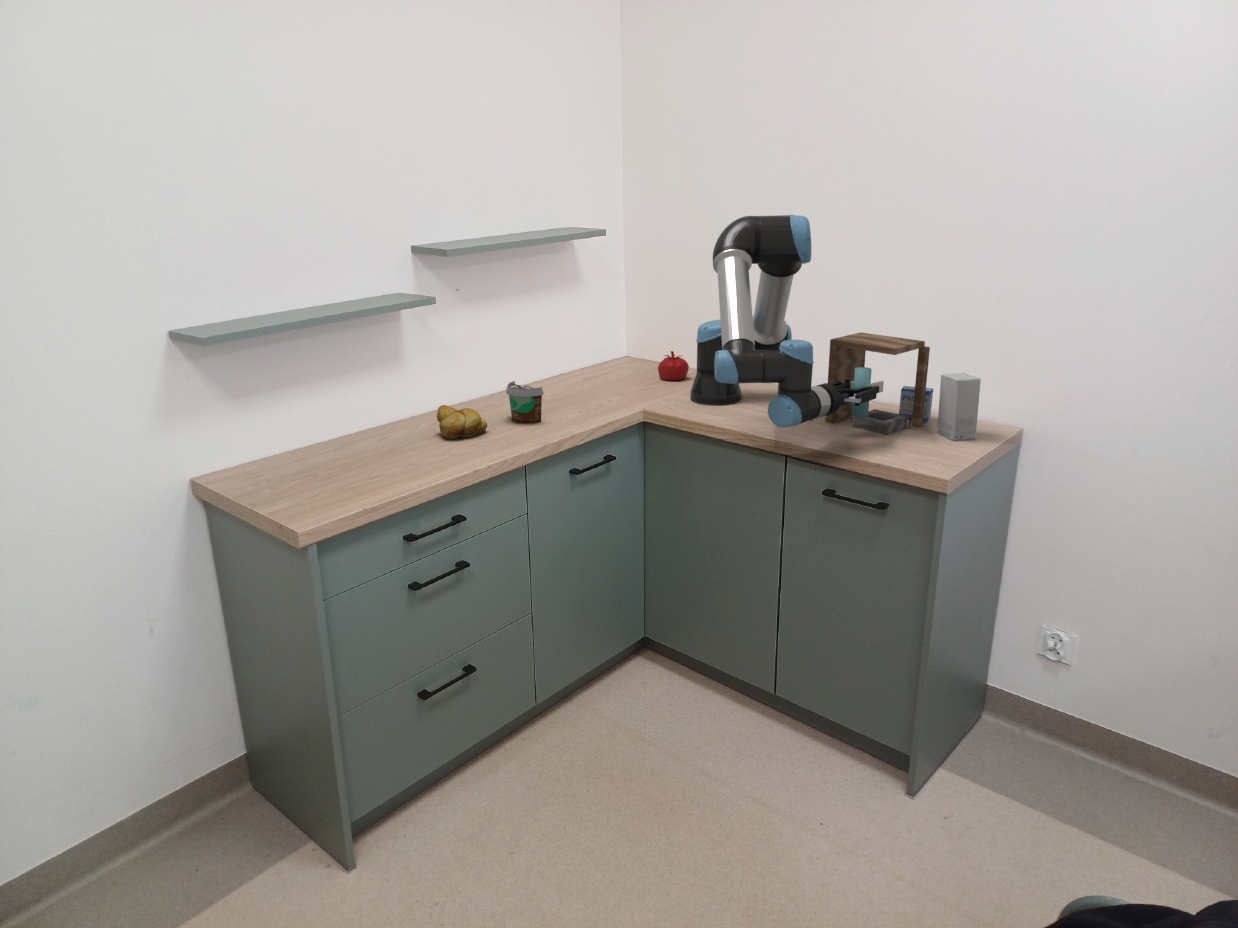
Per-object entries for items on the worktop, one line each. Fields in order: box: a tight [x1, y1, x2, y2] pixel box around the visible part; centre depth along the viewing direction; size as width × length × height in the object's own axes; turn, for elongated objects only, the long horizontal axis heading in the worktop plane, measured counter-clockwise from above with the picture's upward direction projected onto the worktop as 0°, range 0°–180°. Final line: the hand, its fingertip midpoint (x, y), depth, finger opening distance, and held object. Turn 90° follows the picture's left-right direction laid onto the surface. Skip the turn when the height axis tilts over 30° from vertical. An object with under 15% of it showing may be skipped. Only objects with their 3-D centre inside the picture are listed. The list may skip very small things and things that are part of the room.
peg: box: [852, 366, 872, 418], centre depth 219 cm, size 4×4×12 cm
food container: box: [505, 380, 544, 425], centre depth 239 cm, size 12×6×10 cm, turn 47°
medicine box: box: [898, 385, 934, 423], centre depth 235 cm, size 8×4×9 cm, turn 65°
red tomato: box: [657, 350, 690, 382], centre depth 285 cm, size 10×10×9 cm
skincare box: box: [936, 372, 982, 442], centre depth 218 cm, size 8×7×16 cm
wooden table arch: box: [824, 332, 931, 436], centre depth 229 cm, size 15×20×22 cm
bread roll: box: [436, 404, 488, 439], centre depth 228 cm, size 13×10×8 cm
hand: (873, 384), depth 222 cm, fingers closed on peg, 4 cm apart
